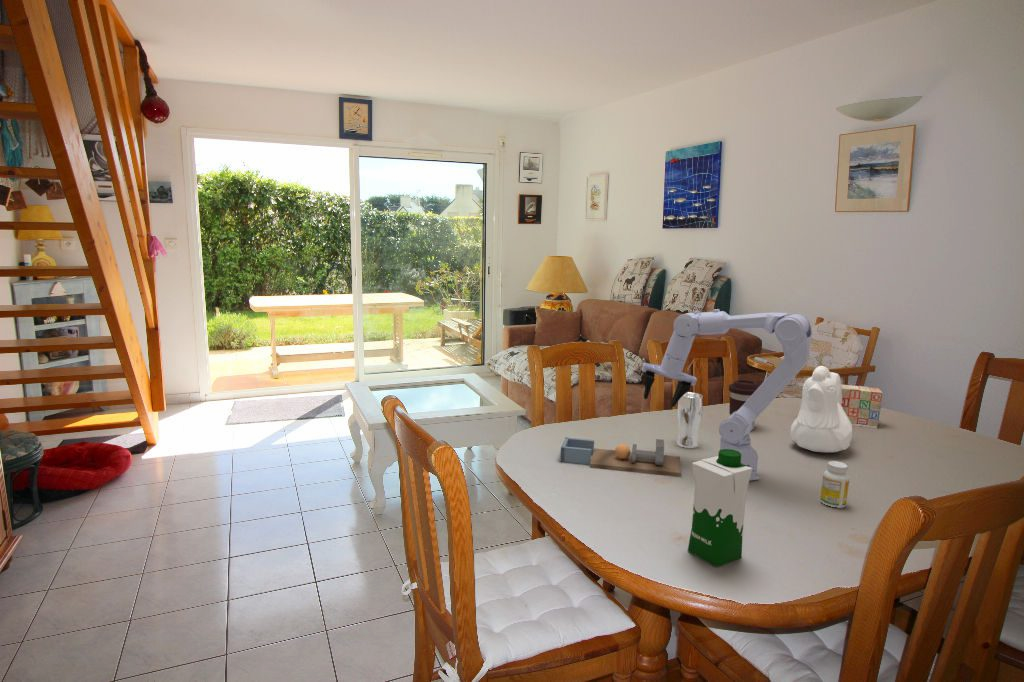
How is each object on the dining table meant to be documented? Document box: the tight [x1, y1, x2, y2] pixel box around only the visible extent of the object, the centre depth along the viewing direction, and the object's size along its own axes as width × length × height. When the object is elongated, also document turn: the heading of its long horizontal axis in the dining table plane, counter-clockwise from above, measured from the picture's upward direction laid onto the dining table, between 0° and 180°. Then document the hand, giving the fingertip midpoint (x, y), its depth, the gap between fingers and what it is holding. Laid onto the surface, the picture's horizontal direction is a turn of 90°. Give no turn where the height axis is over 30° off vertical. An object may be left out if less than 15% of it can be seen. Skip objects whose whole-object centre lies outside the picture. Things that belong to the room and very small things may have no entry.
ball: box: [615, 443, 631, 459], centre depth 164 cm, size 4×4×4 cm
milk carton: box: [687, 449, 752, 568], centre depth 116 cm, size 9×9×20 cm
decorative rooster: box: [789, 365, 853, 453], centre depth 177 cm, size 25×16×25 cm, turn 127°
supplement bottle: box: [819, 460, 850, 509], centre depth 140 cm, size 5×5×10 cm
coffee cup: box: [728, 379, 760, 431], centre depth 195 cm, size 10×10×15 cm
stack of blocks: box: [841, 384, 883, 427], centre depth 204 cm, size 21×6×12 cm, turn 68°
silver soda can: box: [676, 391, 704, 449], centre depth 178 cm, size 7×7×15 cm
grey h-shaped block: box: [631, 438, 665, 466], centre depth 162 cm, size 8×6×5 cm
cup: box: [559, 436, 595, 466], centre depth 167 cm, size 8×8×4 cm
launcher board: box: [589, 447, 682, 477], centre depth 163 cm, size 23×12×1 cm, turn 77°
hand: (658, 401), depth 167 cm, fingers open, 7 cm apart
